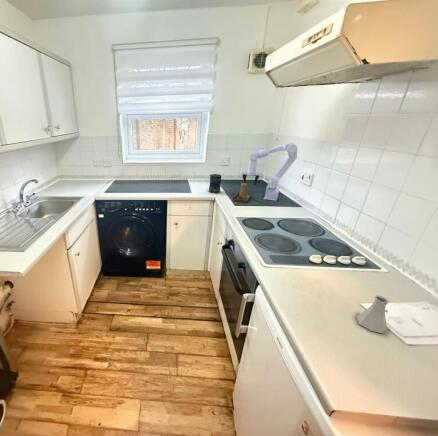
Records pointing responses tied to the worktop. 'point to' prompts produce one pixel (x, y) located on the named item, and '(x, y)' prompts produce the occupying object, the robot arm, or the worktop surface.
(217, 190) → the storage jar
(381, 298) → the flask
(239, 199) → the shelf
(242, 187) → the olive door knob
